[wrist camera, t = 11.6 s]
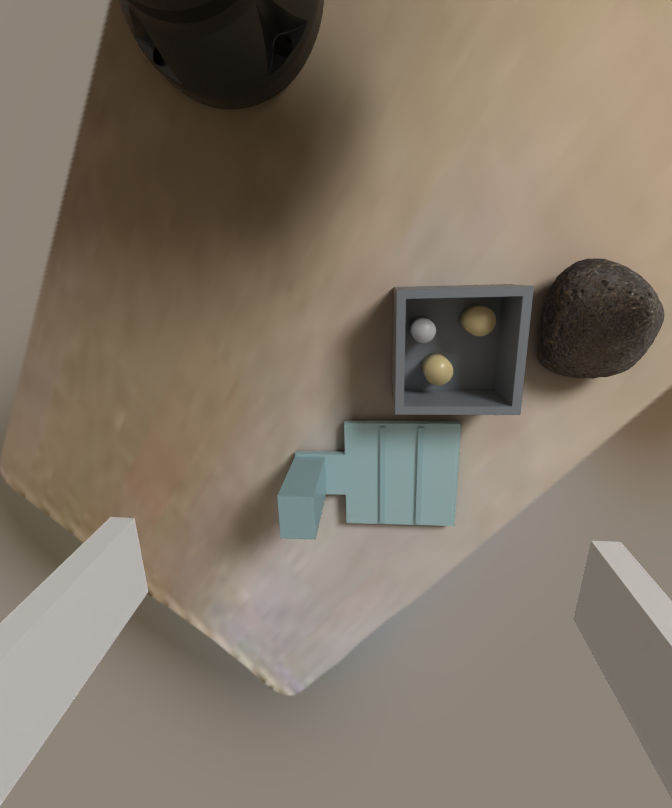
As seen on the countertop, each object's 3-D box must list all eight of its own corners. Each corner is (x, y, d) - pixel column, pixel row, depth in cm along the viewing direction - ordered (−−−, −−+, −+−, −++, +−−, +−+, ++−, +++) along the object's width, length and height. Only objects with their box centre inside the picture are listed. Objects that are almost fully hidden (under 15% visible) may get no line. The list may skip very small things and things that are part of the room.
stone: (600, 358, 42) (714, 300, 33) (571, 411, 37) (693, 361, 29) (529, 288, 42) (624, 211, 33) (492, 333, 37) (590, 259, 29)
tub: (393, 287, 38) (396, 289, 32) (509, 284, 37) (533, 286, 31) (392, 394, 41) (395, 414, 35) (499, 394, 40) (520, 414, 34)
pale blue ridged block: (294, 420, 42) (274, 456, 33) (459, 421, 40) (481, 459, 32) (300, 517, 45) (283, 573, 37) (453, 521, 44) (471, 580, 35)
